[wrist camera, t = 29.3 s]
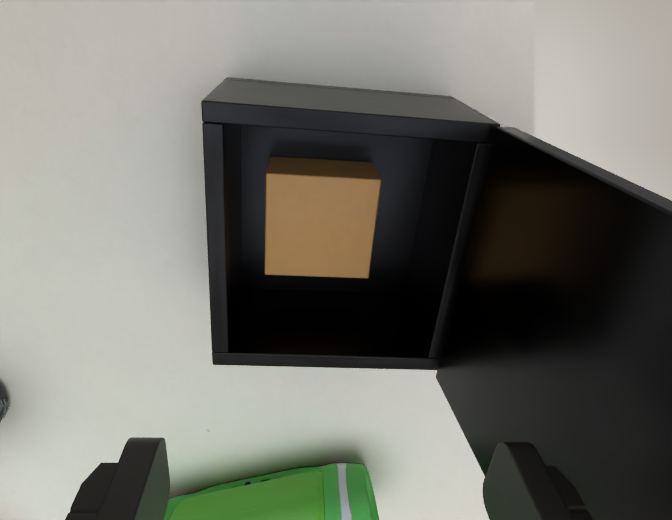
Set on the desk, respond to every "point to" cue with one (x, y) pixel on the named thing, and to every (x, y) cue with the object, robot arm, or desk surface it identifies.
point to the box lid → (567, 326)
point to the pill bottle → (3, 402)
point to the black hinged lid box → (390, 229)
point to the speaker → (284, 497)
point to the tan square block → (320, 217)
